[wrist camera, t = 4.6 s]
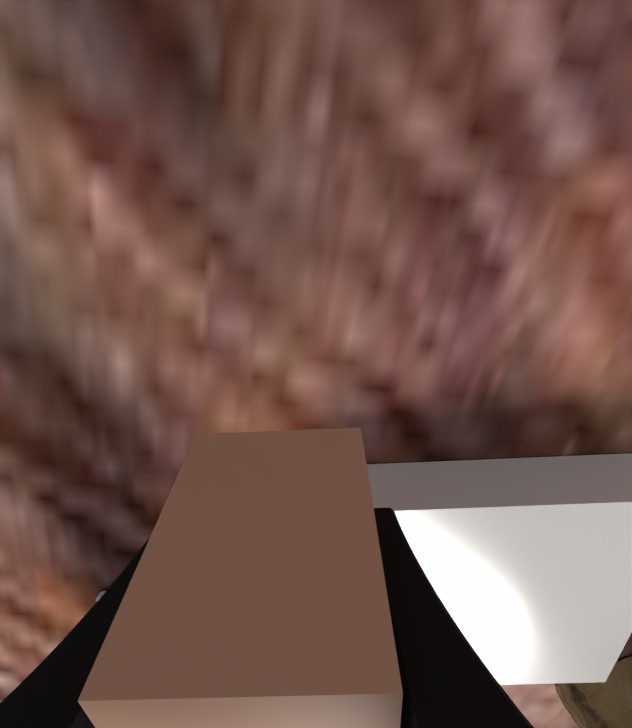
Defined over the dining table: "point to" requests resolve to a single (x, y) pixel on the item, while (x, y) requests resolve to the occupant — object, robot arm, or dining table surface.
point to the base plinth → (524, 556)
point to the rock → (601, 699)
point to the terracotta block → (256, 596)
